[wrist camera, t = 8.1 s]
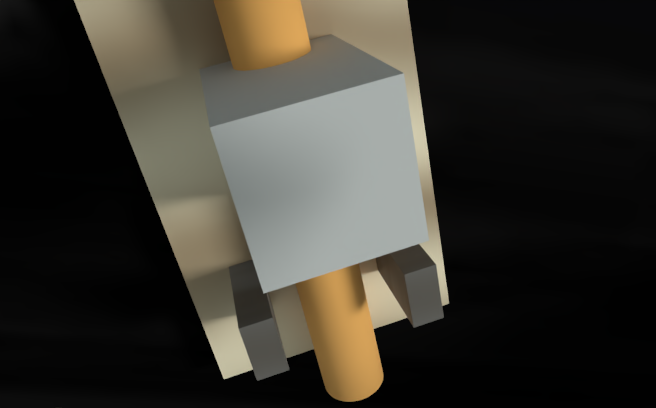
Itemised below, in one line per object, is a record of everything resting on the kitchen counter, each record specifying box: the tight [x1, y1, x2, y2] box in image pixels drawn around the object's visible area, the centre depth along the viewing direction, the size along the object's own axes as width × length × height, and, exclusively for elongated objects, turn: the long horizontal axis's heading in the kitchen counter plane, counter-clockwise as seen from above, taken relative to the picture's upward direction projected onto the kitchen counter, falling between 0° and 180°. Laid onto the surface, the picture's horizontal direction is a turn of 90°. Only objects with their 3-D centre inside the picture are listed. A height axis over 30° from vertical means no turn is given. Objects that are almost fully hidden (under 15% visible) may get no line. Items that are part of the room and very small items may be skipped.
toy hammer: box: [199, 0, 429, 402], centre depth 14 cm, size 21×4×6 cm, turn 13°
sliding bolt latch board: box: [74, 0, 449, 381], centre depth 15 cm, size 22×9×4 cm, turn 13°
